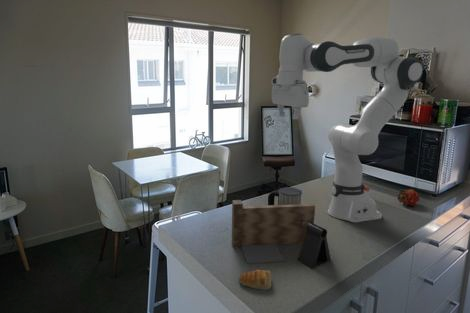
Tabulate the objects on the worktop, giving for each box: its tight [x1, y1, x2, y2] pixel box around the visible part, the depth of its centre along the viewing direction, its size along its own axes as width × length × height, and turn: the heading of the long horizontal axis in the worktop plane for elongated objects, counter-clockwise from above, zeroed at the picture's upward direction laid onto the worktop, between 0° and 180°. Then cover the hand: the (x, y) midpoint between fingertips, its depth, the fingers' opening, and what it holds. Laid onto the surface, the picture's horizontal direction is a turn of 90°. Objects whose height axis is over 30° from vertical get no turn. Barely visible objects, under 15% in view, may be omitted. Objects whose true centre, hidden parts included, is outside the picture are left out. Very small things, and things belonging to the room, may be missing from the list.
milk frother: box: [267, 186, 303, 205], centre depth 132 cm, size 14×16×15 cm
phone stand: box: [297, 223, 332, 269], centre depth 109 cm, size 9×6×12 cm, turn 124°
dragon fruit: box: [397, 188, 420, 207], centre depth 161 cm, size 8×8×12 cm
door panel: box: [231, 199, 316, 249], centre depth 119 cm, size 29×5×16 cm, turn 99°
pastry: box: [238, 269, 272, 290], centre depth 97 cm, size 9×7×4 cm
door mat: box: [241, 244, 285, 264], centre depth 114 cm, size 12×11×1 cm
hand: (288, 117), depth 128 cm, fingers open, 8 cm apart
